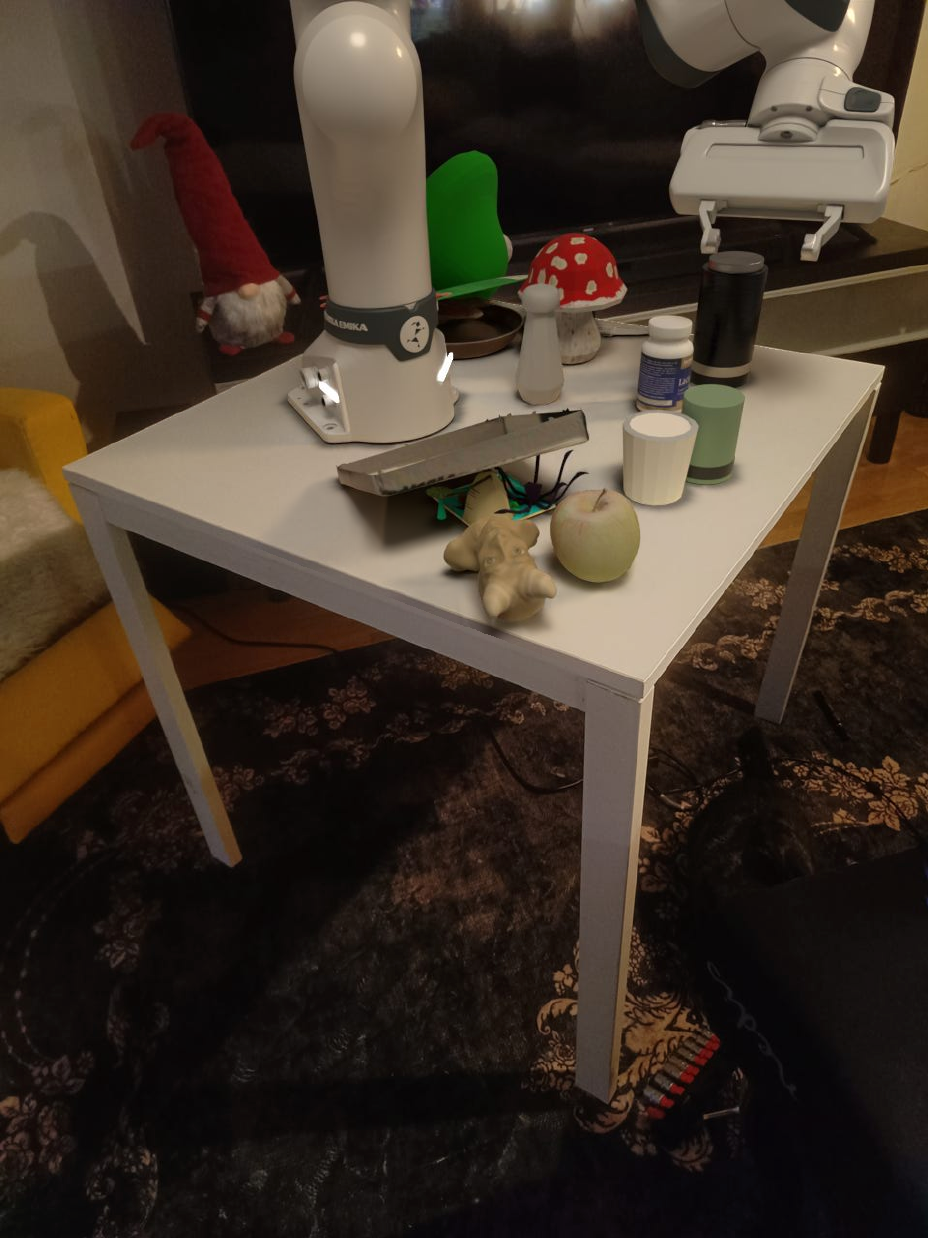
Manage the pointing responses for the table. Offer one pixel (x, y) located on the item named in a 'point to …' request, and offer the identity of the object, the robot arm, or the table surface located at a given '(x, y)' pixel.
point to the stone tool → (461, 308)
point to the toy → (465, 224)
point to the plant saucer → (481, 332)
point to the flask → (727, 318)
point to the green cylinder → (713, 431)
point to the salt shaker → (540, 347)
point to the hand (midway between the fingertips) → (757, 253)
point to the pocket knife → (619, 331)
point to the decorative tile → (465, 451)
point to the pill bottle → (665, 364)
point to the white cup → (657, 455)
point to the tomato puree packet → (477, 286)
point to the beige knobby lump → (503, 566)
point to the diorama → (498, 496)
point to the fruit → (595, 534)
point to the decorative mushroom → (577, 290)
